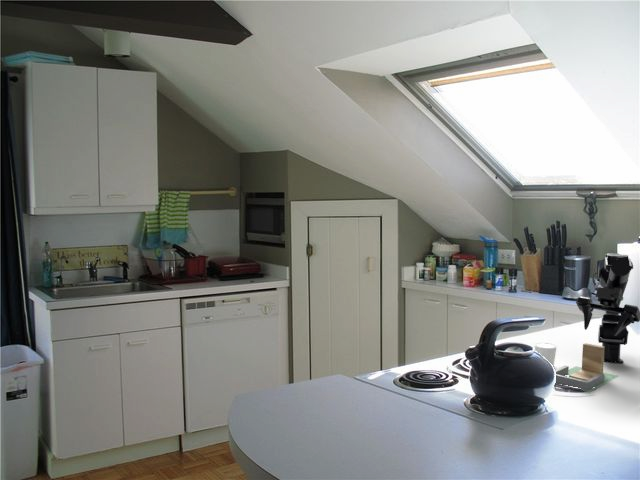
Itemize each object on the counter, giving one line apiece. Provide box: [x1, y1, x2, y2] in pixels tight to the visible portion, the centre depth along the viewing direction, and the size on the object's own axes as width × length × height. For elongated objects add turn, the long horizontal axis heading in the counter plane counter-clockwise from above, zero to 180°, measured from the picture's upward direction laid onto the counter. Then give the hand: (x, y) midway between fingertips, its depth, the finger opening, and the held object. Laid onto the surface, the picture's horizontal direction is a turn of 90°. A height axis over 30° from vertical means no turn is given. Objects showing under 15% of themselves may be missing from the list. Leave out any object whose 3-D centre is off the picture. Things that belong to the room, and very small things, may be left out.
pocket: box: [554, 365, 604, 392], centre depth 209 cm, size 12×12×2 cm
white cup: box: [534, 342, 557, 366], centre depth 226 cm, size 7×7×7 cm
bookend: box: [569, 342, 605, 381], centre depth 214 cm, size 11×6×9 cm, turn 136°
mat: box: [556, 366, 619, 393], centre depth 213 cm, size 22×14×1 cm, turn 136°
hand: (599, 332), depth 216 cm, fingers open, 9 cm apart
